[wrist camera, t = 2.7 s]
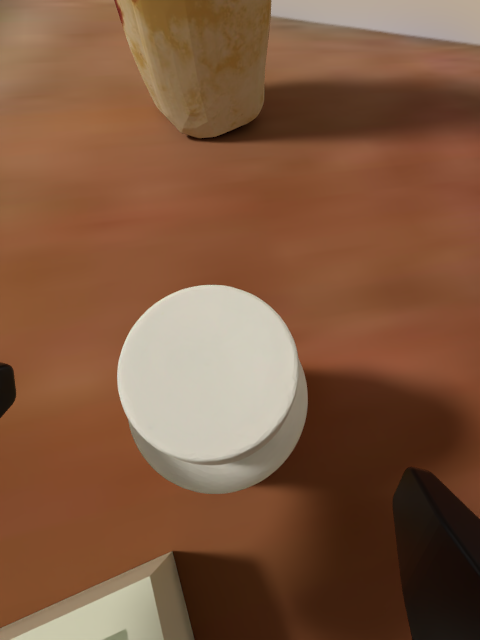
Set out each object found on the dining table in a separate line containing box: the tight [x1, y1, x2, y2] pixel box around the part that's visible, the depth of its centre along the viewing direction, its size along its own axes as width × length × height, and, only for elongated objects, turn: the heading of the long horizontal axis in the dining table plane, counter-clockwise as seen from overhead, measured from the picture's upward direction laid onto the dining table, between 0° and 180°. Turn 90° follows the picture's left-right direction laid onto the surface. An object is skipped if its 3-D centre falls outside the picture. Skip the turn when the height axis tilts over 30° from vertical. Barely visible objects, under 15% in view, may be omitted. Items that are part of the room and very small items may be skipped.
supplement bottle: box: [117, 285, 308, 494], centre depth 11 cm, size 5×5×10 cm
